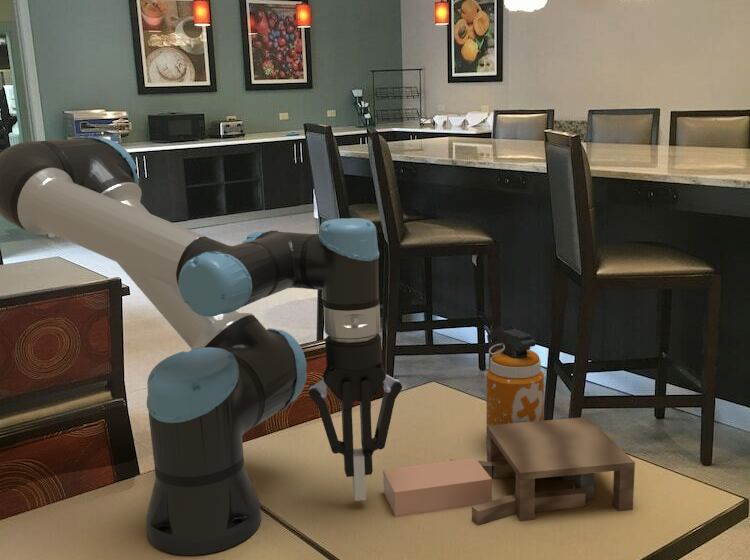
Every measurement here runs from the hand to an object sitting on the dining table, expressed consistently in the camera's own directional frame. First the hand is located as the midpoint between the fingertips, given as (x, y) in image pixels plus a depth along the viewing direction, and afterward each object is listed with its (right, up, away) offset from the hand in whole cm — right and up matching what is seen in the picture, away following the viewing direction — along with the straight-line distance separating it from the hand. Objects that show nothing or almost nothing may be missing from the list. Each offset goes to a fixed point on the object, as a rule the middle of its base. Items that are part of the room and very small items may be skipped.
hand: (359, 495), depth 111 cm
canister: (+24, +3, +18) cm, 30 cm away
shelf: (+25, 0, +3) cm, 26 cm away
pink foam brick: (+11, -1, +2) cm, 11 cm away
